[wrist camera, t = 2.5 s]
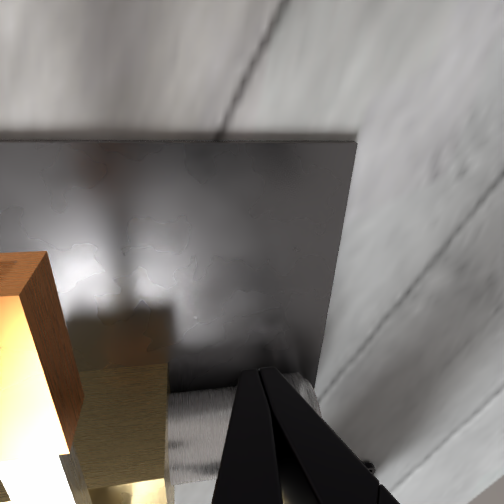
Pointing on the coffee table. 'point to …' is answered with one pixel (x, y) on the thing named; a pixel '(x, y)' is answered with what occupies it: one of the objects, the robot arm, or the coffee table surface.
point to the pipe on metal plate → (177, 286)
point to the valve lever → (37, 387)
